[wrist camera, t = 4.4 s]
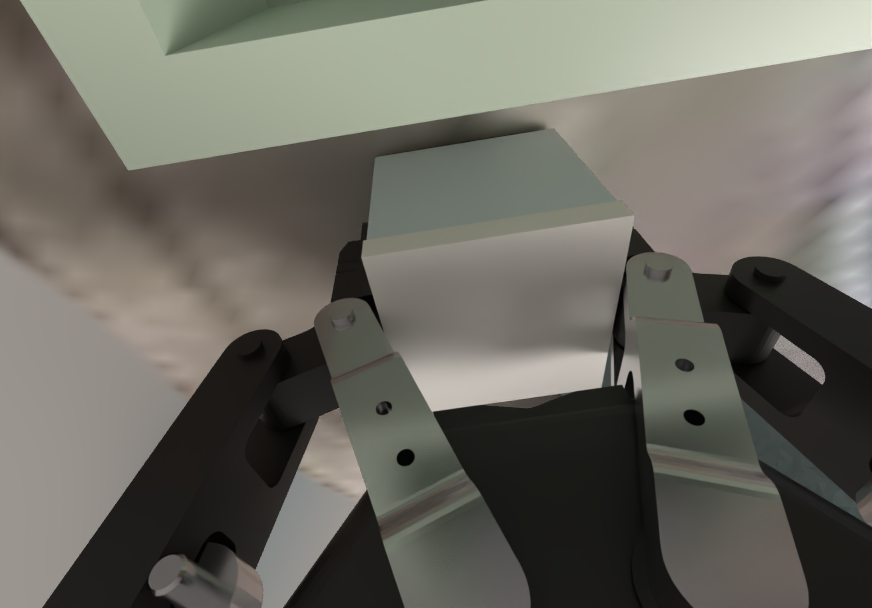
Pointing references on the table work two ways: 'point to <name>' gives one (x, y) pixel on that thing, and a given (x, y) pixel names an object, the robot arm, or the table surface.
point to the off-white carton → (496, 267)
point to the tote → (396, 60)
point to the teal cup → (780, 456)
